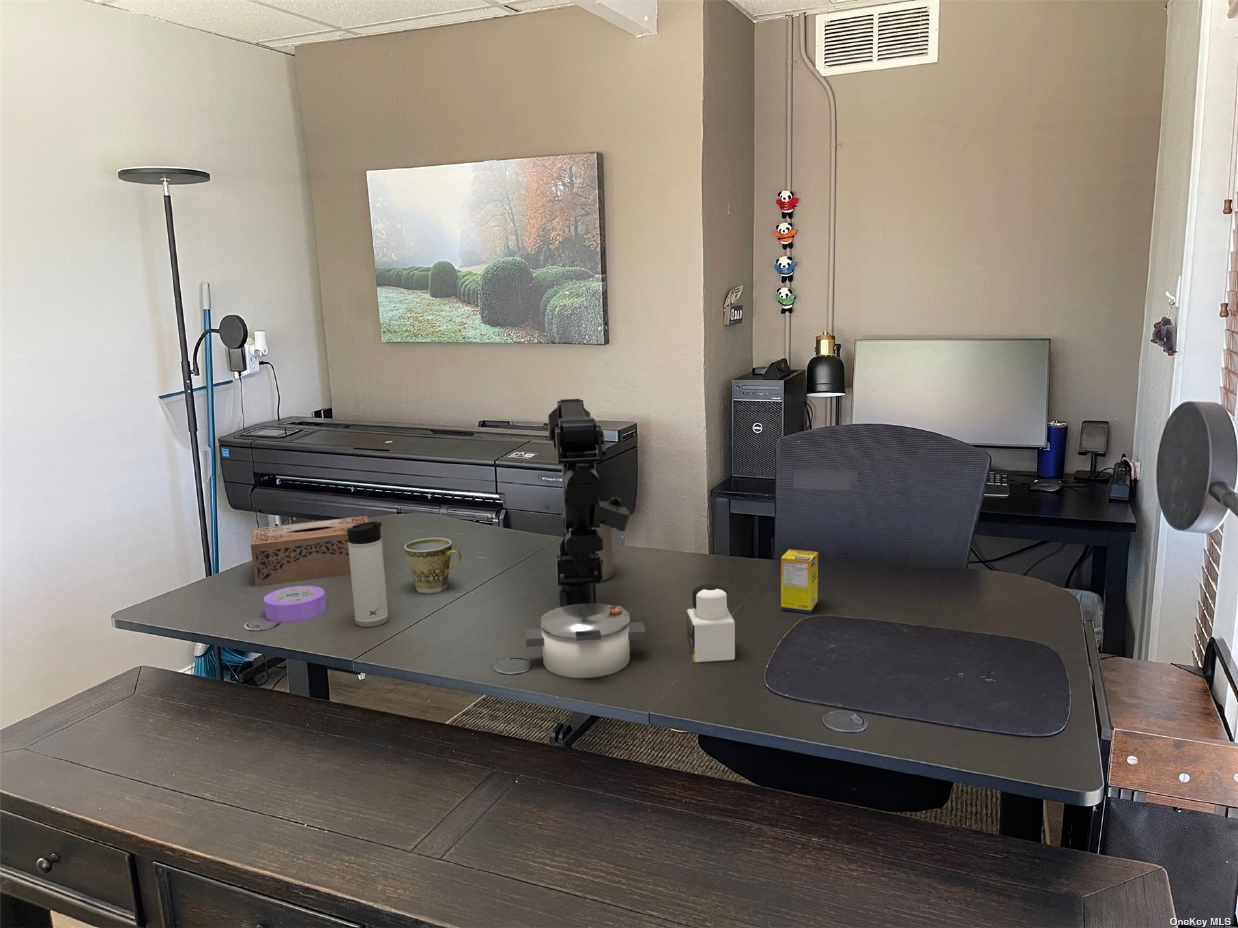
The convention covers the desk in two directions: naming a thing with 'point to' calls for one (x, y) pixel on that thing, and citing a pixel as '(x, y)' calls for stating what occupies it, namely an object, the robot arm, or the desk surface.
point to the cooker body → (586, 652)
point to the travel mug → (367, 574)
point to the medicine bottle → (710, 625)
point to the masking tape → (294, 603)
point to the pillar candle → (606, 551)
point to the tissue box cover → (302, 551)
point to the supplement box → (799, 581)
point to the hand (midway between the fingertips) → (583, 575)
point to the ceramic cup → (430, 563)
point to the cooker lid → (585, 621)
